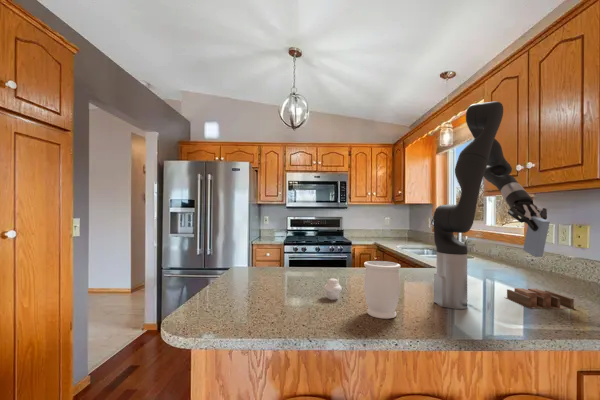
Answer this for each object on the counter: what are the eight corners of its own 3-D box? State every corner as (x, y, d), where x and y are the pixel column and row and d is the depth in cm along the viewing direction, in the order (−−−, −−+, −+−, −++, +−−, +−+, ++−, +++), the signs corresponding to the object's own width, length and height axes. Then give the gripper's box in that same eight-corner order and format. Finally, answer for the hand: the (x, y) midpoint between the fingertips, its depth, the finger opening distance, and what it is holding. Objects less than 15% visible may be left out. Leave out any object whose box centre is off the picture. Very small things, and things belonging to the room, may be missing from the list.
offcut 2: (541, 305, 97) (541, 293, 97) (527, 300, 102) (527, 288, 103) (551, 305, 96) (551, 293, 97) (536, 300, 102) (536, 288, 103)
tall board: (535, 256, 104) (542, 221, 101) (523, 250, 110) (529, 216, 107) (542, 256, 104) (549, 221, 101) (529, 250, 110) (536, 216, 107)
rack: (527, 310, 94) (527, 298, 94) (504, 300, 105) (504, 289, 105) (575, 312, 94) (575, 299, 94) (546, 301, 105) (546, 290, 105)
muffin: (320, 297, 103) (320, 277, 103) (332, 294, 107) (332, 275, 108) (333, 302, 99) (333, 280, 99) (345, 298, 103) (345, 278, 103)
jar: (380, 323, 81) (380, 267, 81) (356, 311, 90) (357, 261, 90) (408, 317, 86) (408, 265, 86) (382, 306, 95) (383, 259, 95)
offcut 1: (527, 305, 97) (527, 292, 97) (514, 299, 103) (514, 288, 103) (536, 305, 97) (536, 293, 97) (523, 300, 103) (523, 288, 103)
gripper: (502, 189, 114) (526, 222, 101) (539, 189, 113) (567, 223, 101) (493, 203, 119) (515, 236, 106) (528, 203, 118) (554, 237, 106)
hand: (540, 229), depth 103 cm, fingers closed on tall board, 2 cm apart
